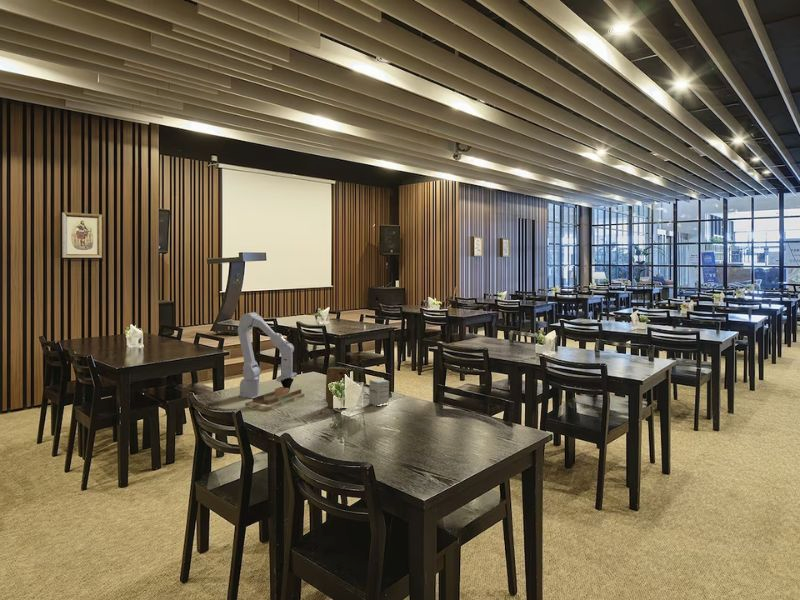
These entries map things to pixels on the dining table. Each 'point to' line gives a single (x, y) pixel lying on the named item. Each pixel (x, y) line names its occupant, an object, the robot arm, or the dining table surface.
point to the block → (333, 376)
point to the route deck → (274, 400)
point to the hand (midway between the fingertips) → (286, 392)
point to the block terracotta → (281, 391)
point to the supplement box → (378, 391)
